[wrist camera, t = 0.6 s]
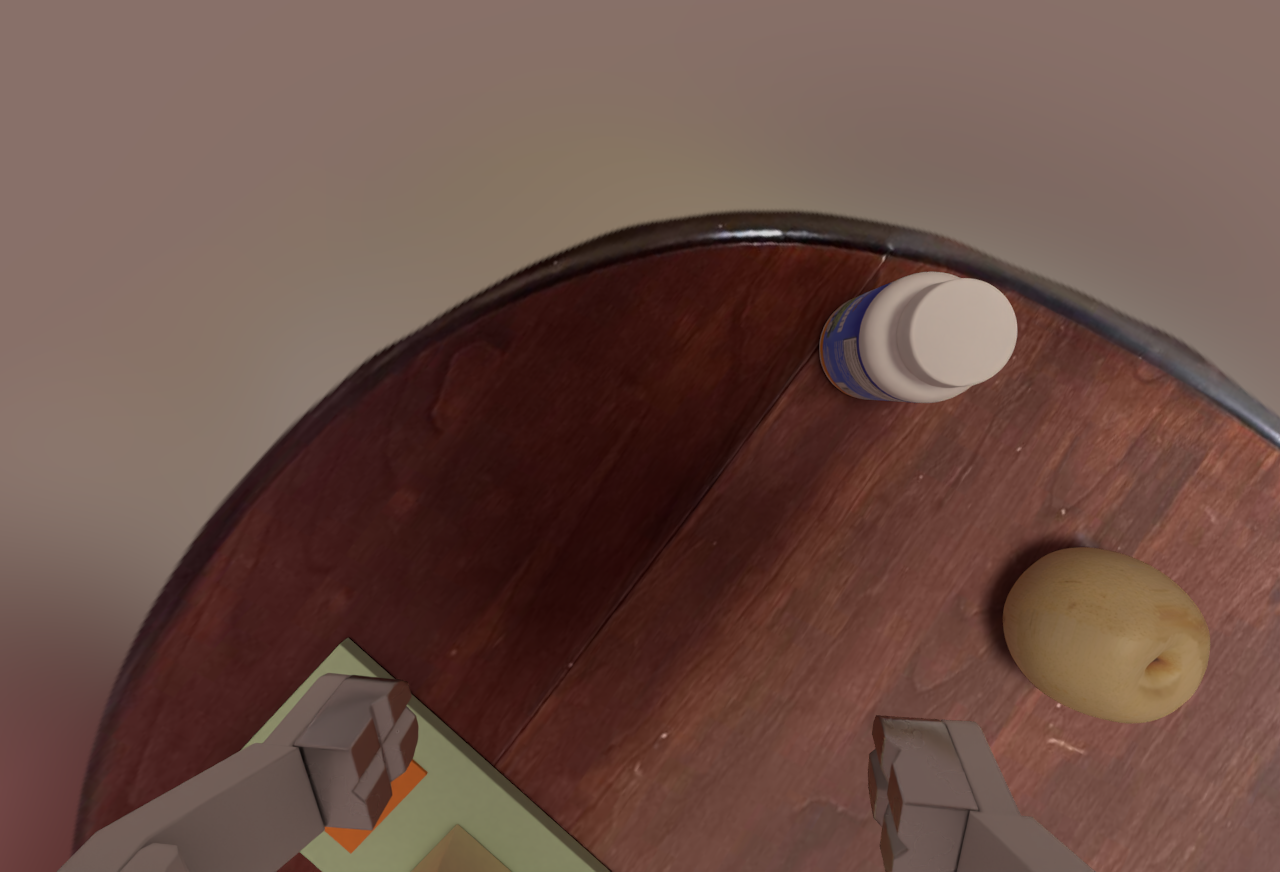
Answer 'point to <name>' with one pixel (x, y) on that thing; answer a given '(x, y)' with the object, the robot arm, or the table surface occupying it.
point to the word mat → (439, 806)
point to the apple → (1106, 635)
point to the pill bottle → (918, 339)
